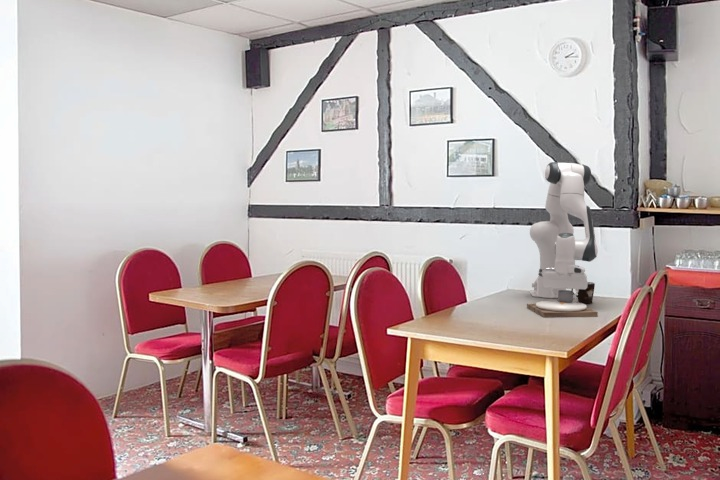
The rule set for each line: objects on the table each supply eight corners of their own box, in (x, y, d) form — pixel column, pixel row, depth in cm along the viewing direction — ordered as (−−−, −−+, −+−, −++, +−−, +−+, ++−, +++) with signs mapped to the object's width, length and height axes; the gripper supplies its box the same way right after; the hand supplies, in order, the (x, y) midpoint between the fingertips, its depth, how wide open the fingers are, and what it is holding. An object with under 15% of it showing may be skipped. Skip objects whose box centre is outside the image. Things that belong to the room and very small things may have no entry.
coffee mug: (592, 301, 348) (592, 281, 347) (596, 304, 340) (596, 284, 339) (568, 301, 349) (568, 281, 349) (571, 304, 341) (572, 283, 340)
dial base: (526, 307, 331) (526, 303, 331) (576, 307, 333) (576, 302, 333) (543, 317, 307) (544, 312, 307) (597, 316, 309) (597, 311, 309)
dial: (580, 312, 305) (581, 298, 305) (530, 308, 316) (530, 294, 315) (591, 305, 325) (591, 291, 325) (543, 301, 336) (543, 288, 335)
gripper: (541, 268, 327) (540, 297, 328) (587, 269, 320) (586, 300, 321) (542, 266, 333) (542, 295, 334) (588, 268, 326) (587, 298, 327)
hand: (564, 298), depth 327 cm, fingers open, 8 cm apart
